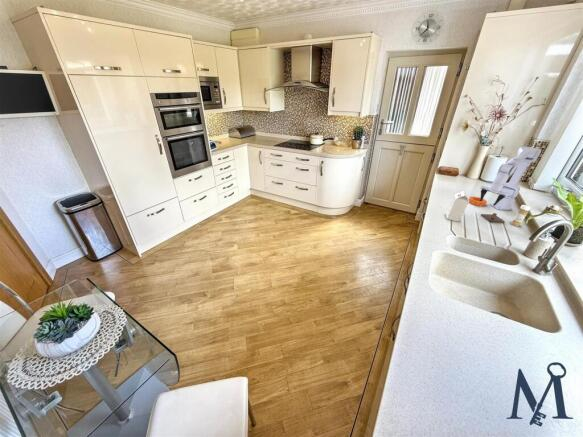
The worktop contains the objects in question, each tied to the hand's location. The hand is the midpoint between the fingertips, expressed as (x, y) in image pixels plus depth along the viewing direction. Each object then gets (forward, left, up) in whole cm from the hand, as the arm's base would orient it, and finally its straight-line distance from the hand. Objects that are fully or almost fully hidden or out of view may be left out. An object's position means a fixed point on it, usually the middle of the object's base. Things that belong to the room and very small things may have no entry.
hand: (487, 203), depth 152 cm
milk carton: (+21, +4, -11) cm, 24 cm away
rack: (-7, +2, -10) cm, 13 cm away
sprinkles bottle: (-17, +8, -11) cm, 22 cm away
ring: (-12, -23, -10) cm, 28 cm away
